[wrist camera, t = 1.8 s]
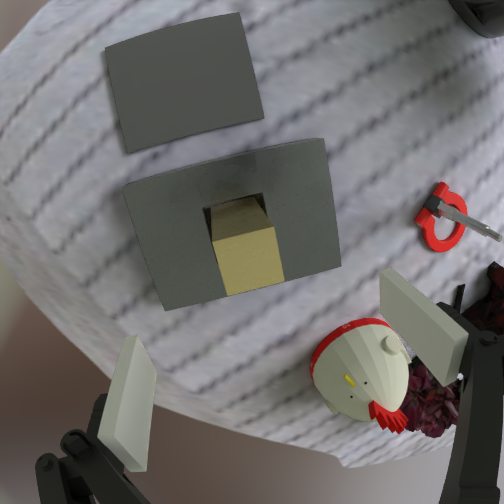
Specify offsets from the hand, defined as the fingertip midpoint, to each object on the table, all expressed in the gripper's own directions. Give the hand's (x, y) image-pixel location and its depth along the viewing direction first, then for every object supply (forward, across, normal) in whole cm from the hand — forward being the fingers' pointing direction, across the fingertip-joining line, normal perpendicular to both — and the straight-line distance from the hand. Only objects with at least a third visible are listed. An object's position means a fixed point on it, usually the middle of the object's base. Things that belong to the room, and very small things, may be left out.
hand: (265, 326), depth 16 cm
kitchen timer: (+19, +12, -24) cm, 33 cm away
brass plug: (+19, 0, 0) cm, 19 cm away
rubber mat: (+19, -2, +16) cm, 25 cm away
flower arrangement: (+19, +32, -30) cm, 48 cm away
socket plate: (+19, 0, 0) cm, 19 cm away
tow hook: (+19, +27, -6) cm, 34 cm away
